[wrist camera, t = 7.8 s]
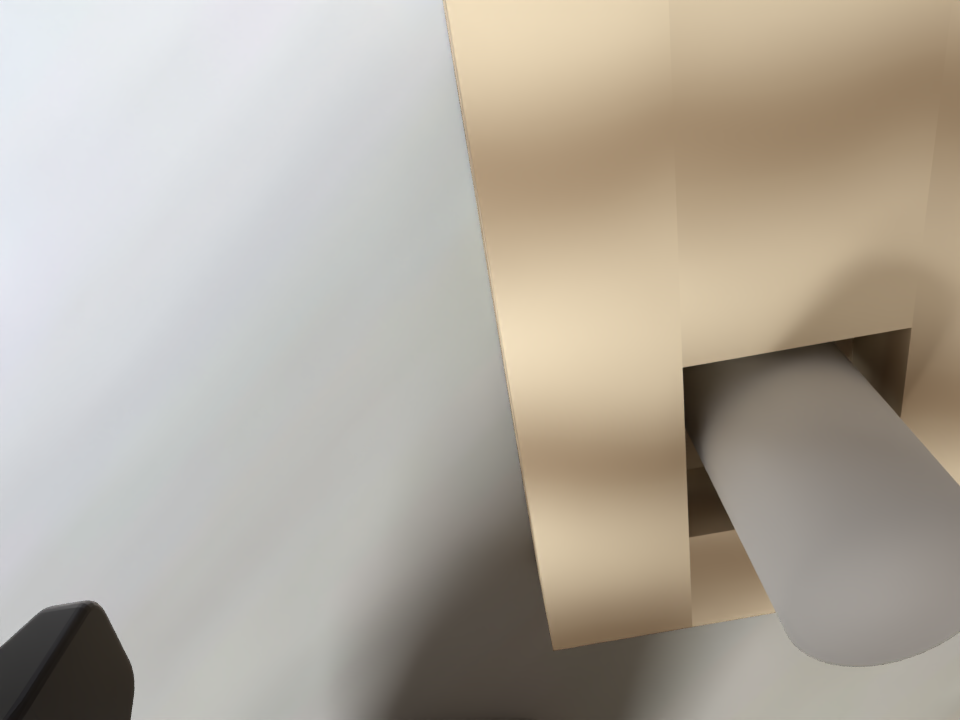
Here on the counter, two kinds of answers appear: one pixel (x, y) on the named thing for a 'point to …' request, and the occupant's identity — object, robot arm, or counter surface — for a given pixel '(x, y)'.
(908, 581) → the grey plug
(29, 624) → the robot arm
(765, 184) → the wooden socket board
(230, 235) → the counter surface
